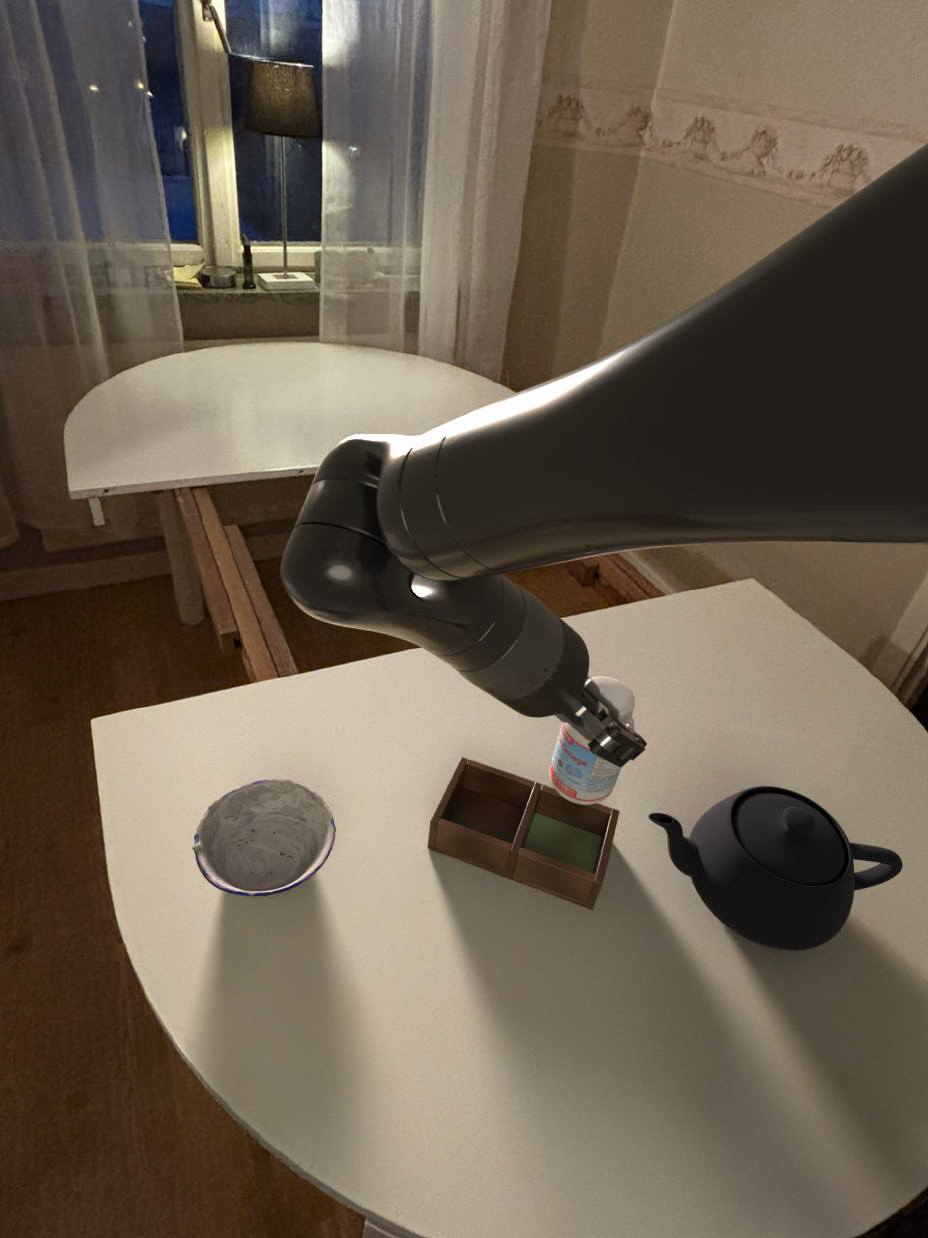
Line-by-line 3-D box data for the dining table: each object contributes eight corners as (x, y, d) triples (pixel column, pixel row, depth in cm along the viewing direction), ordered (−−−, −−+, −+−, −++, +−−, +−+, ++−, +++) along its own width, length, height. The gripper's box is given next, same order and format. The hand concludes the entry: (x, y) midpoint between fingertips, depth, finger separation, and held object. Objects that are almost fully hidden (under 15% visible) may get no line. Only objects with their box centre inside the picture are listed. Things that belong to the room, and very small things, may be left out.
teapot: (842, 839, 81) (893, 767, 74) (897, 981, 69) (965, 911, 61) (618, 811, 81) (645, 736, 74) (632, 948, 69) (667, 874, 61)
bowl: (231, 949, 65) (225, 920, 62) (180, 844, 73) (172, 813, 70) (359, 878, 72) (359, 849, 69) (300, 788, 80) (298, 759, 77)
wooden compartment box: (610, 837, 79) (619, 810, 76) (592, 910, 72) (602, 884, 69) (457, 783, 82) (461, 756, 79) (427, 848, 75) (430, 821, 72)
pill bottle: (537, 763, 69) (558, 676, 63) (594, 750, 71) (621, 664, 65) (565, 814, 65) (592, 727, 58) (625, 799, 67) (657, 713, 60)
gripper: (610, 678, 47) (699, 753, 59) (506, 557, 57) (600, 642, 69) (525, 756, 48) (629, 814, 60) (437, 624, 58) (542, 696, 70)
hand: (613, 722), depth 64 cm, fingers closed on pill bottle, 6 cm apart
